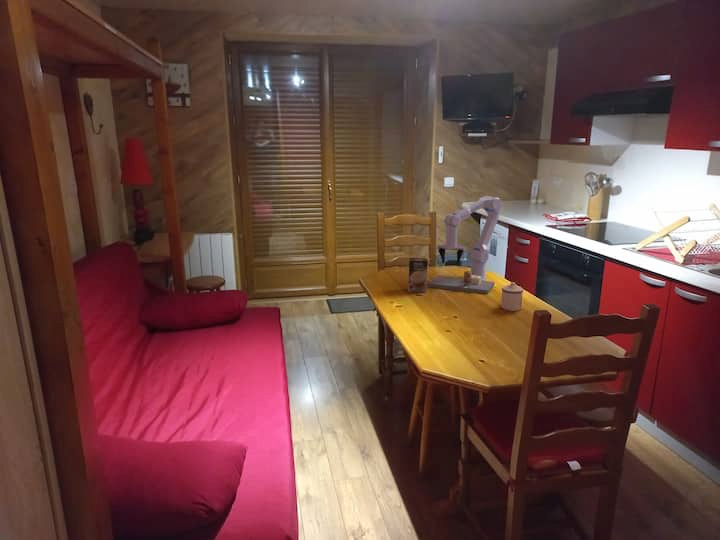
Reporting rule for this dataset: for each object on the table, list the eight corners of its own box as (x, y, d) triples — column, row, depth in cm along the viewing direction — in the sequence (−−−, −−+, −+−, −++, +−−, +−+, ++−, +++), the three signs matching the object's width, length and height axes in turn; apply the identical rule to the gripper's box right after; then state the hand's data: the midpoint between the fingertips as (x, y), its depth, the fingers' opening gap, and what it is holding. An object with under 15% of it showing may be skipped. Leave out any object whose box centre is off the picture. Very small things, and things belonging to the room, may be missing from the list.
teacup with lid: (524, 311, 214) (526, 285, 211) (503, 311, 214) (505, 286, 211) (516, 302, 226) (518, 278, 223) (496, 302, 226) (497, 278, 223)
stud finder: (465, 279, 255) (466, 274, 254) (481, 281, 251) (481, 275, 250) (463, 282, 250) (463, 276, 249) (478, 284, 247) (479, 278, 246)
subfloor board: (437, 278, 264) (437, 275, 264) (494, 285, 251) (494, 281, 251) (428, 286, 250) (428, 283, 250) (487, 294, 238) (487, 290, 237)
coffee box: (408, 292, 242) (408, 260, 238) (408, 288, 248) (408, 257, 244) (426, 292, 241) (427, 261, 237) (426, 288, 247) (427, 257, 243)
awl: (462, 286, 244) (463, 272, 242) (464, 284, 247) (465, 270, 246) (470, 286, 243) (470, 273, 241) (471, 284, 246) (472, 271, 244)
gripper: (435, 238, 250) (434, 263, 254) (463, 240, 245) (462, 266, 248) (439, 235, 257) (438, 260, 260) (467, 237, 251) (465, 263, 254)
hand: (450, 263), depth 255 cm, fingers open, 7 cm apart
